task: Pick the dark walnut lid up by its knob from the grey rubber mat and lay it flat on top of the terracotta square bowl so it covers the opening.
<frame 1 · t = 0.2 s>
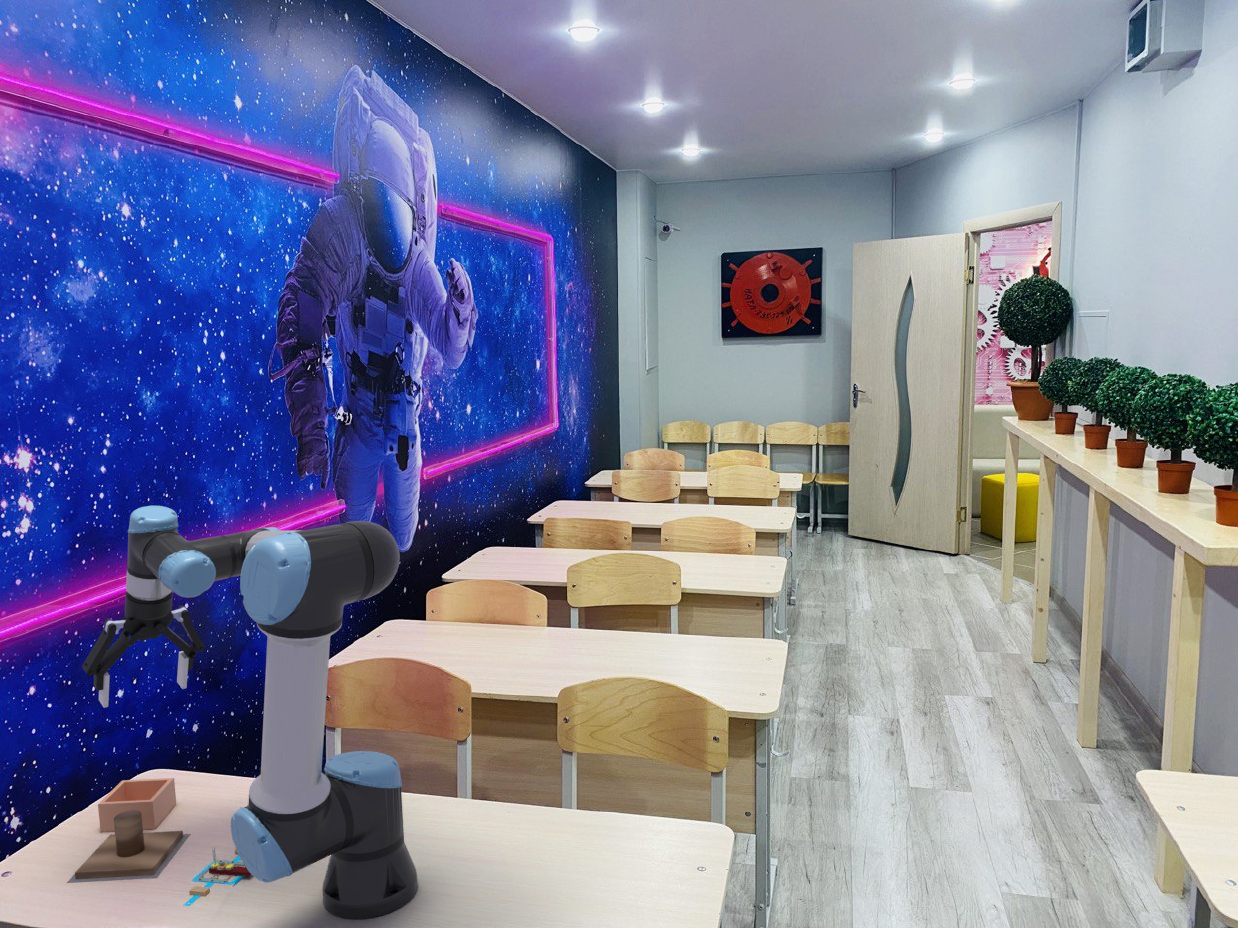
hand: (143, 693, 178), 27 cm above the table, tool tilted 20°, fingers open, 13 cm apart
square bowl: (139, 820, 187), on the table
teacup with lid: (300, 808, 190), on the table
walnut lid: (131, 856, 172), resting on rubber mat
rubber mat: (131, 859, 172), on the table
gear mechanism: (227, 879, 166), on the table
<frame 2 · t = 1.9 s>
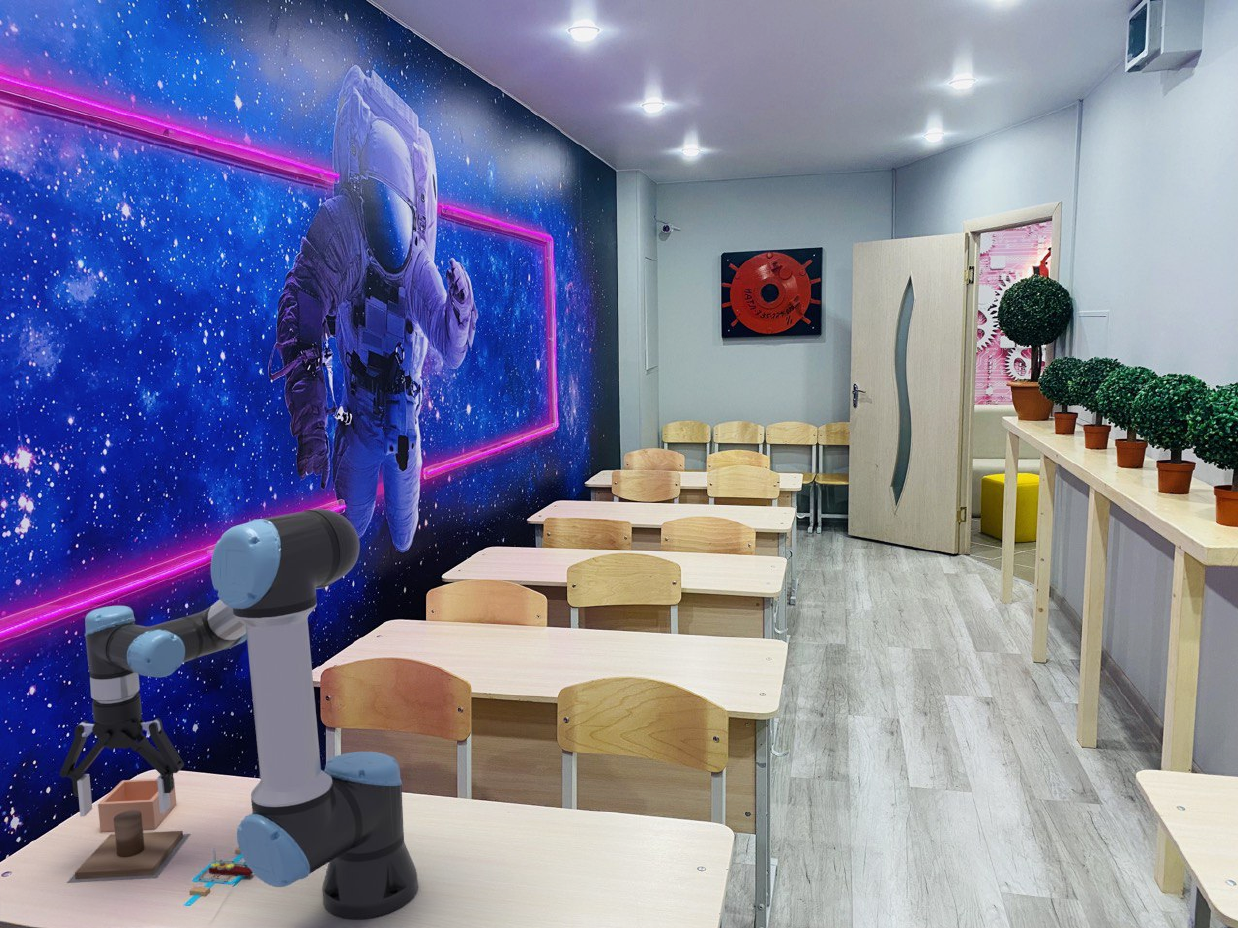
hand: (125, 811, 171), 9 cm above the table, tool pointing down, fingers open, 13 cm apart
nothing on the table moved.
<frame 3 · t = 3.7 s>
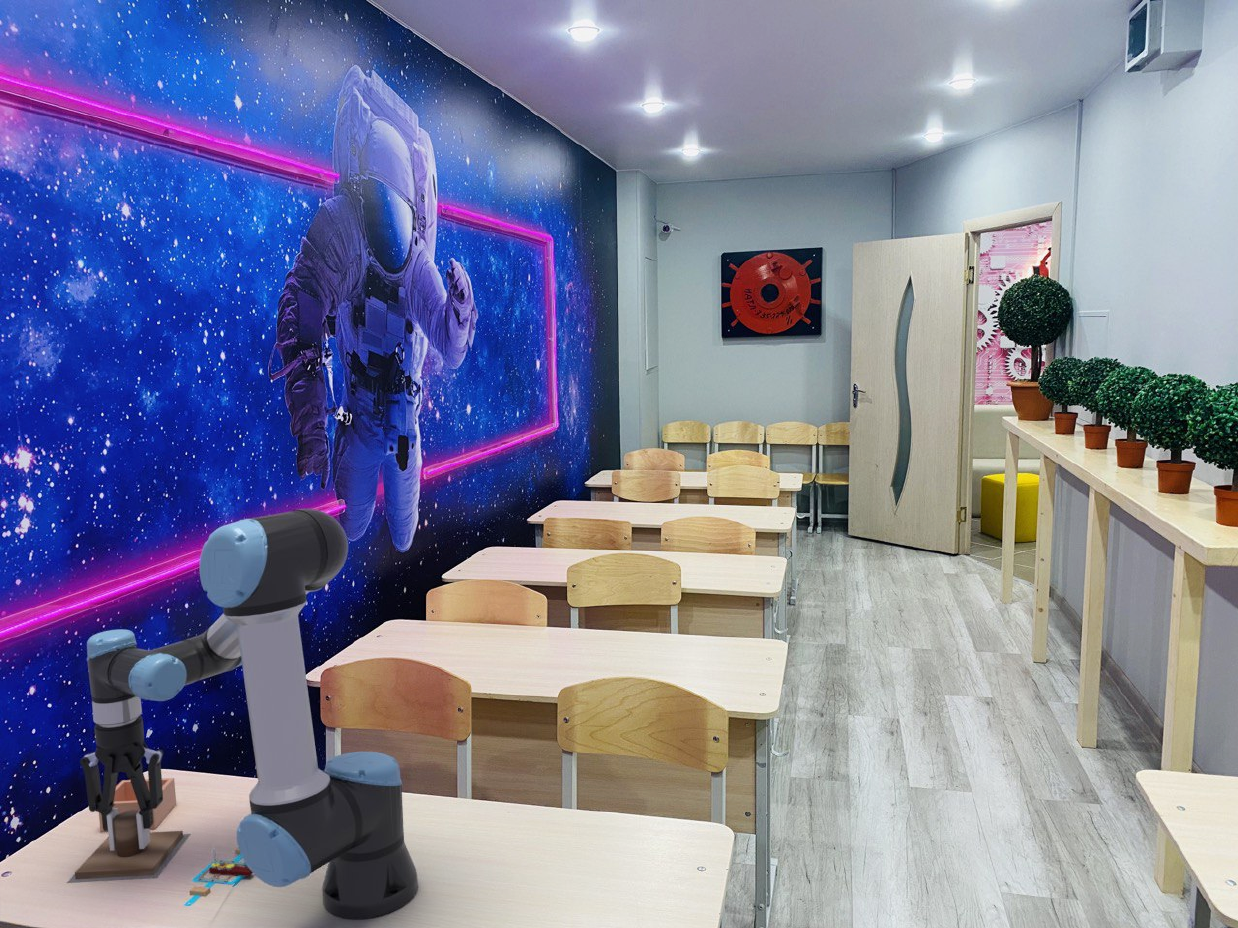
hand: (130, 845, 172), 3 cm above the table, tool pointing down, fingers closed on walnut lid, 4 cm apart
walnut lid: (131, 857, 172), resting on rubber mat, touching gripper
everything else where it was.
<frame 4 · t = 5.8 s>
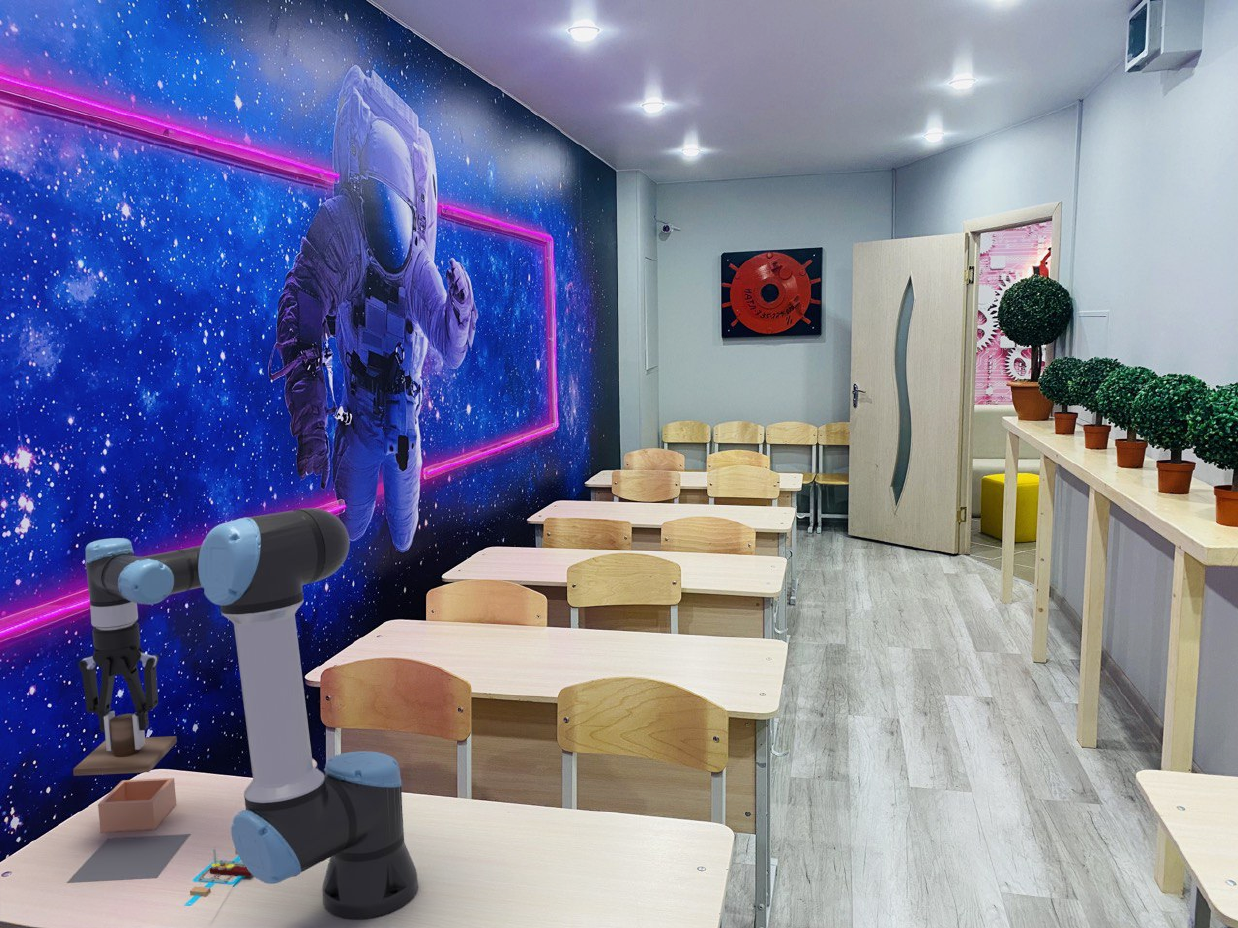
hand: (126, 746, 179), 17 cm above the table, tool pointing down, fingers closed on walnut lid, 4 cm apart
walnut lid: (127, 758, 179), point 15 cm above the table, touching gripper
everything else where it was.
when the fingers open (10 cm above the table, at t = 8.2 s): walnut lid drops 1 cm, resting on square bowl.
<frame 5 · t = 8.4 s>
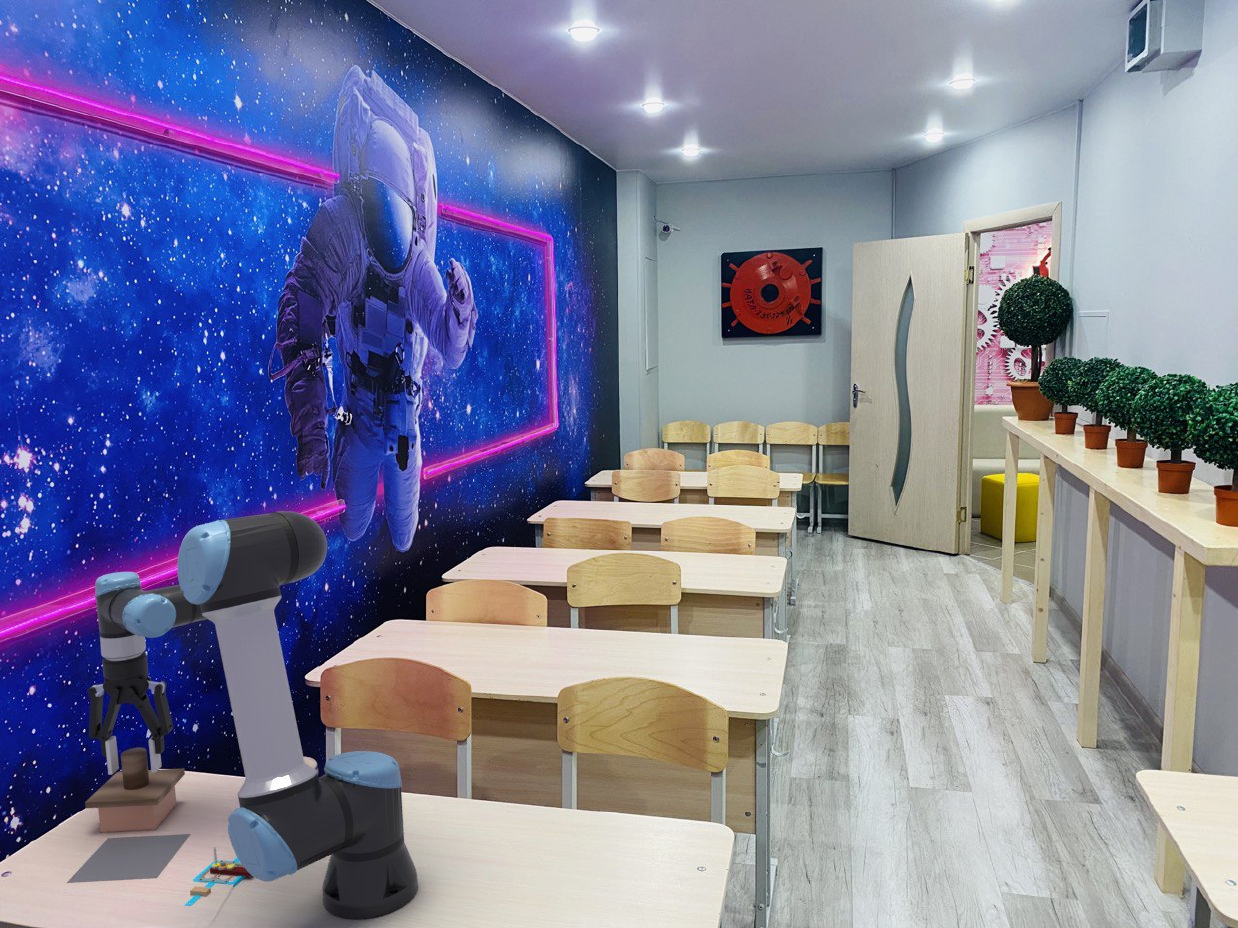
hand: (135, 770, 186), 10 cm above the table, tool pointing down, fingers open, 7 cm apart
walnut lid: (137, 790, 186), point 6 cm above the table, touching square bowl
everything else where it was.
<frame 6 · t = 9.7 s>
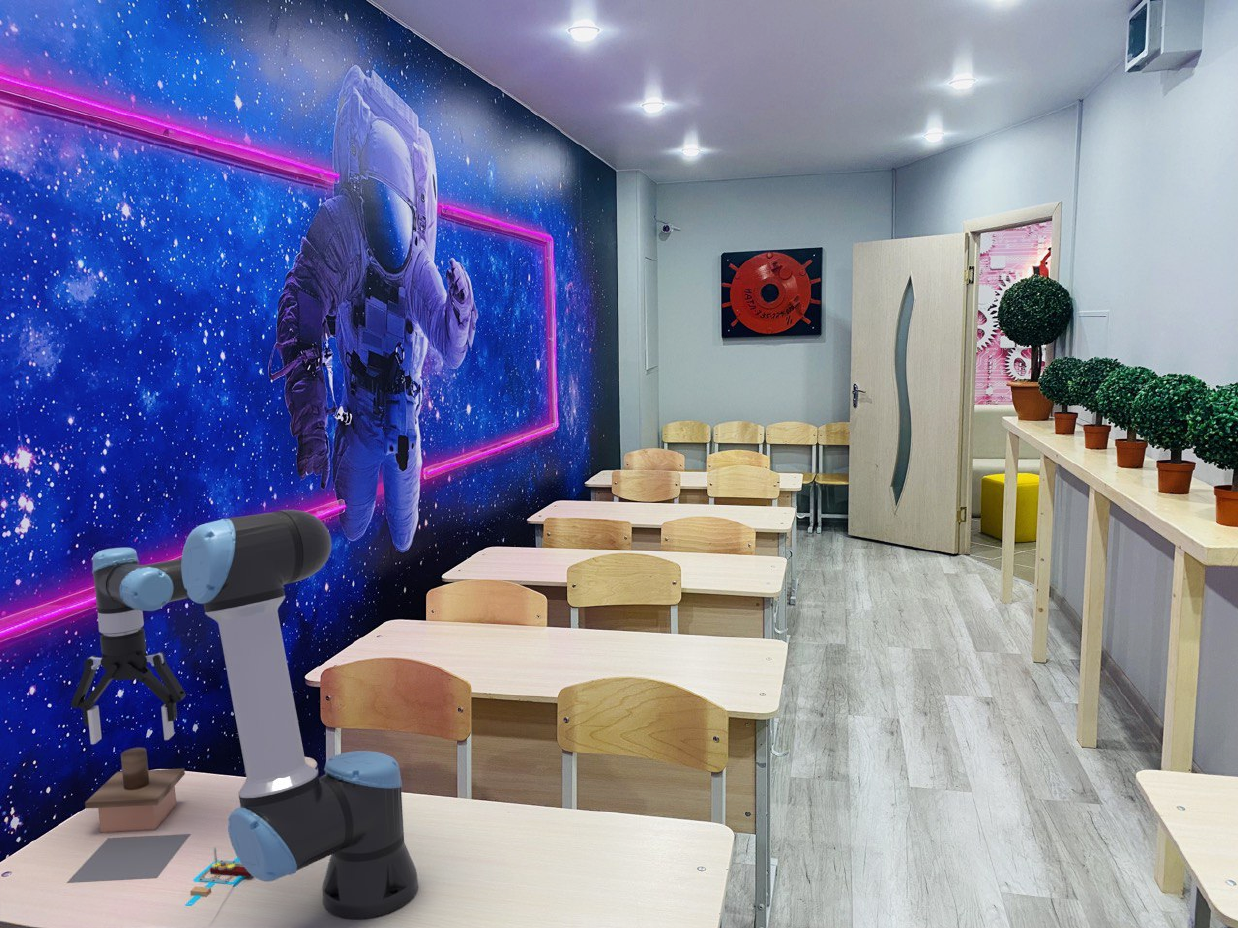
hand: (132, 739, 185), 16 cm above the table, tool pointing down, fingers open, 13 cm apart
nothing on the table moved.
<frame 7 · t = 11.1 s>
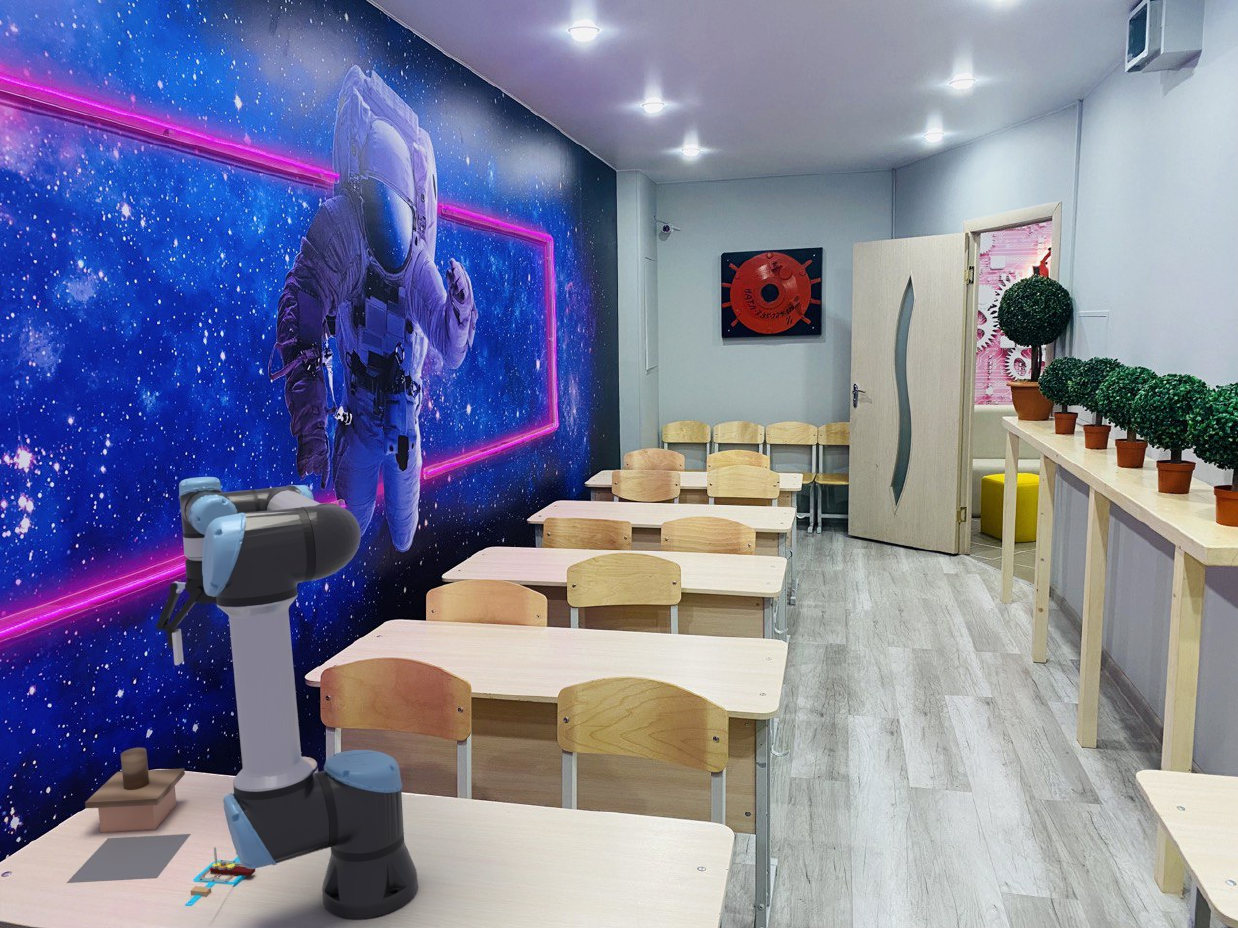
hand: (214, 661, 193), 28 cm above the table, tool pointing down, fingers open, 13 cm apart
nothing on the table moved.
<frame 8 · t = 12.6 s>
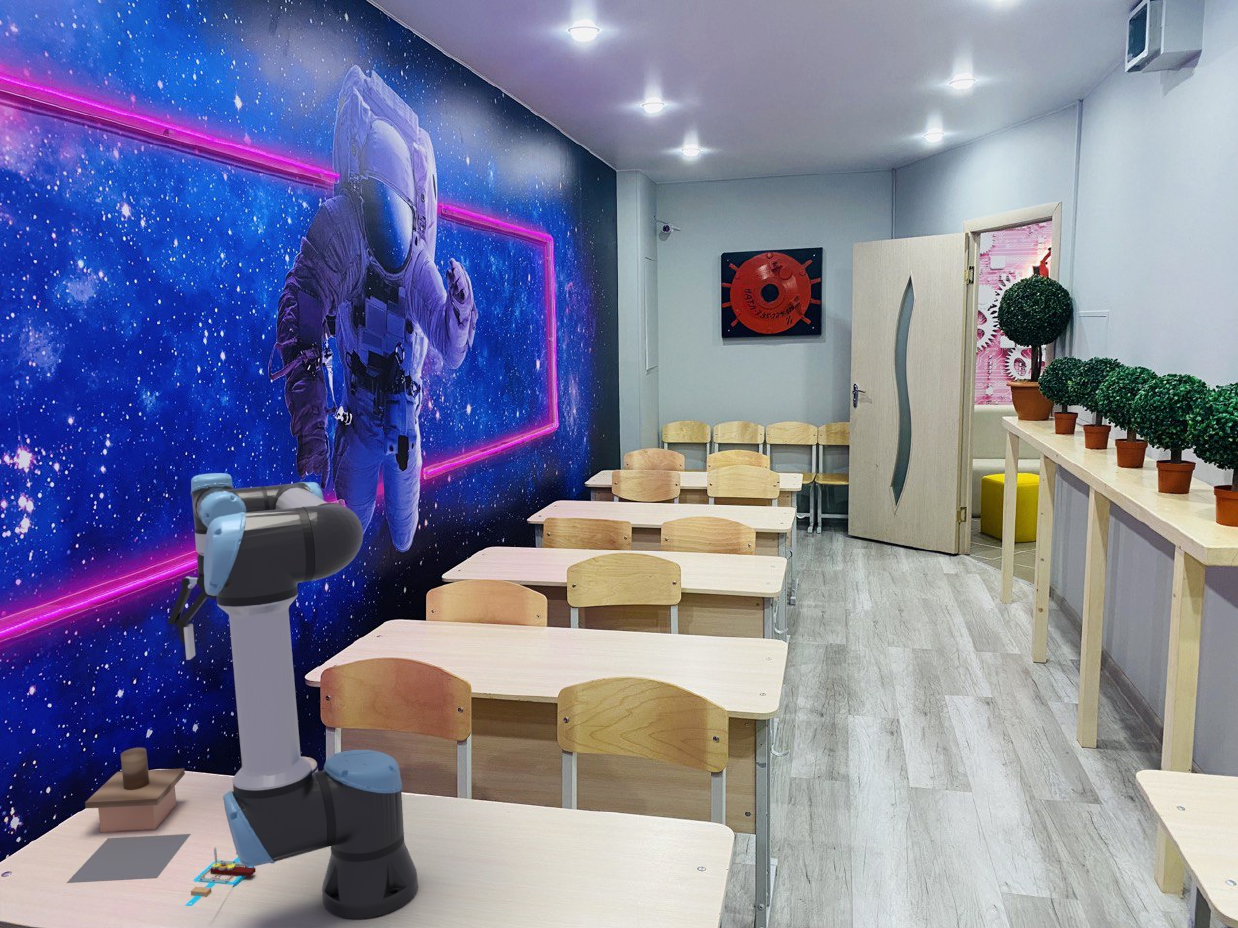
hand: (225, 656, 194), 29 cm above the table, tool pointing down, fingers open, 13 cm apart
nothing on the table moved.
at the end: walnut lid 0.0 cm off-centre on the square bowl, point 6.0 cm above the square bowl's base; walnut lid touching square bowl; the gripper is holding nothing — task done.
